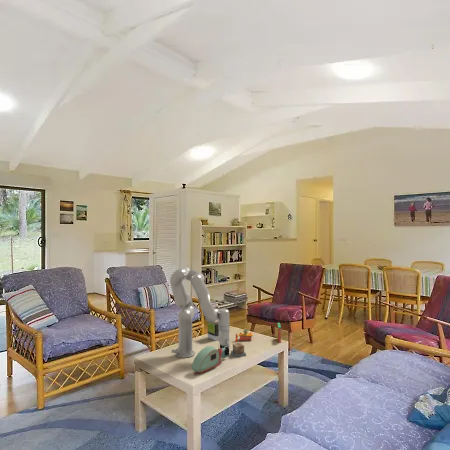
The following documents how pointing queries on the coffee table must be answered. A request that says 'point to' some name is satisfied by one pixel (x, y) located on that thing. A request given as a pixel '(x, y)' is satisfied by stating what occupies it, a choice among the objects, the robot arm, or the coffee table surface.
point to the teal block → (223, 353)
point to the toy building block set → (248, 335)
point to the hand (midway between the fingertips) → (224, 352)
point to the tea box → (213, 330)
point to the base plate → (238, 354)
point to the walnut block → (238, 348)
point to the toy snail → (207, 359)
